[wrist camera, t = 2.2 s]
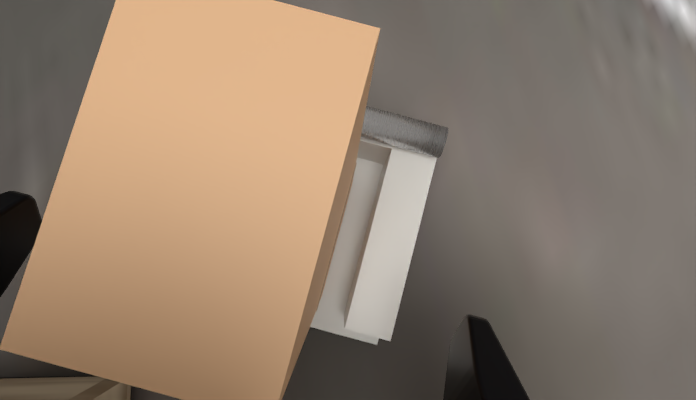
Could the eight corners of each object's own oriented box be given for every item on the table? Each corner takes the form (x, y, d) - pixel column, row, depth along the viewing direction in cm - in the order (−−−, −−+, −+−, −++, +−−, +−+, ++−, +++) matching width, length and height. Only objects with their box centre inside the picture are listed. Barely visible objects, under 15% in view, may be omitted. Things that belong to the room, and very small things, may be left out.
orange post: (322, 295, 18) (273, 426, 5) (245, 275, 18) (-4, 351, 5) (353, 182, 18) (382, 27, 5) (278, 161, 18) (127, -41, 5)
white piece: (376, 342, 18) (387, 373, 14) (177, 288, 18) (125, 302, 14) (425, 151, 19) (450, 122, 14) (234, 99, 19) (201, 56, 15)
